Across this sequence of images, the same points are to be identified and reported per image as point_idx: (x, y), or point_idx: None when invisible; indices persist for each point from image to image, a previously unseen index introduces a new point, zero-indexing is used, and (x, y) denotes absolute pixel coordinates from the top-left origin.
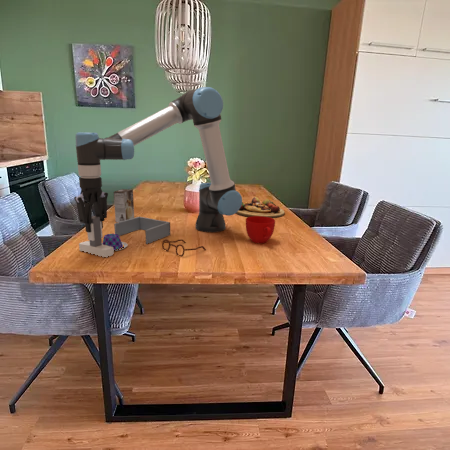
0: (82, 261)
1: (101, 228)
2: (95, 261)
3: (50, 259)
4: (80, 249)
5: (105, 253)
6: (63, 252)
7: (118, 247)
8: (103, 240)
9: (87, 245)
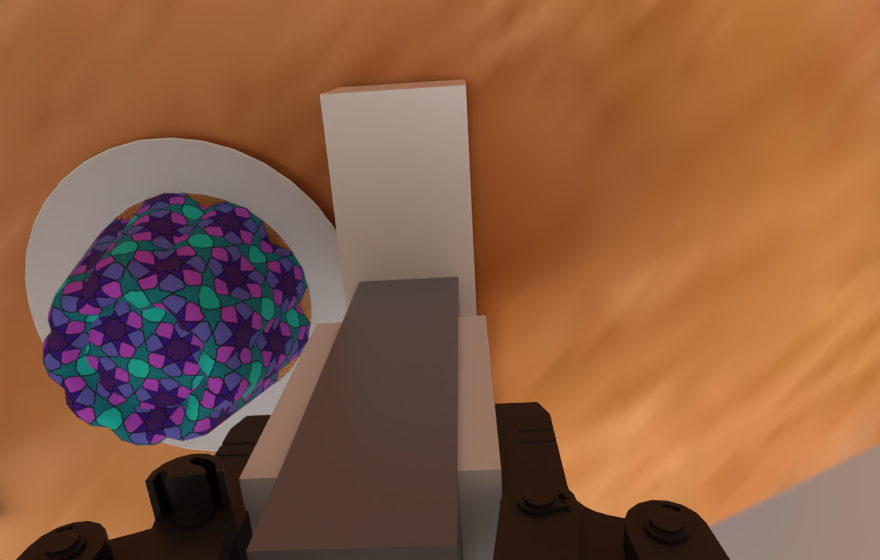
0: (666, 202)
1: (290, 395)
2: (595, 89)
3: (773, 471)
4: None
5: (462, 81)
6: None
7: (179, 203)
8: (259, 376)
9: None
